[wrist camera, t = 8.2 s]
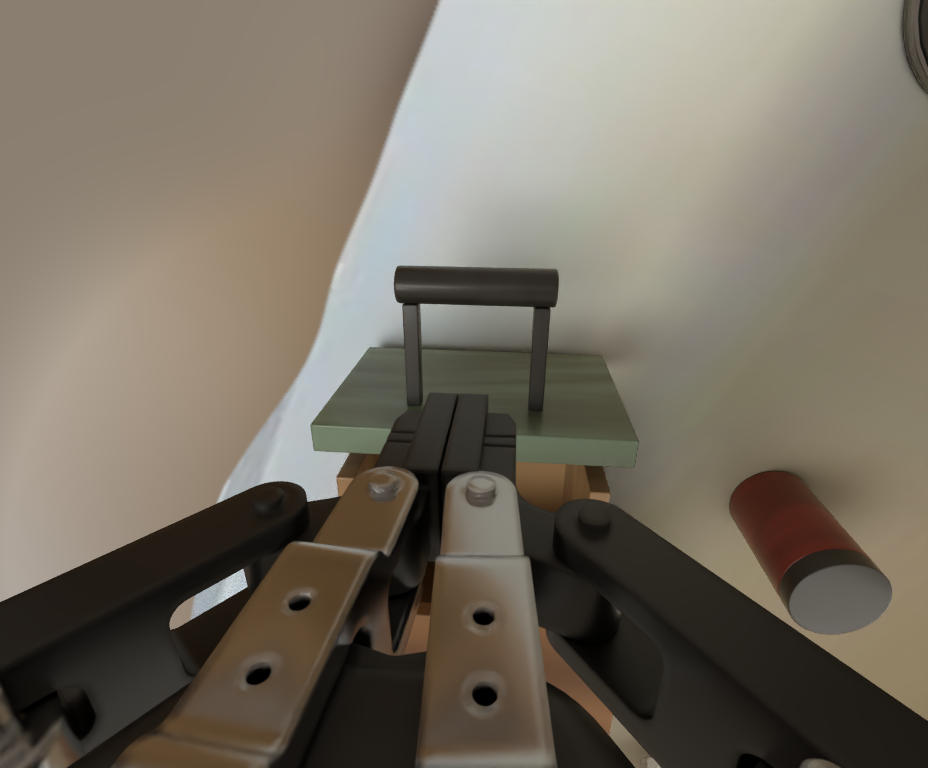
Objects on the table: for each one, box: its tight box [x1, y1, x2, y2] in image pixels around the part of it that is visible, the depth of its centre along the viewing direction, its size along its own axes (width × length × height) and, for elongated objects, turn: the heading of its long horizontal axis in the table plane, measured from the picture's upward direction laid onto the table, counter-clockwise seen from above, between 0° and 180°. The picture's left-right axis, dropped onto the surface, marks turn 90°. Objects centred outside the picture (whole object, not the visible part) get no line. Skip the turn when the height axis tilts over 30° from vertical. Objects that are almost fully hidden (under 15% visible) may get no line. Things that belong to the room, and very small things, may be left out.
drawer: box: [311, 266, 639, 602], centre depth 25 cm, size 20×12×9 cm, turn 0°
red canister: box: [729, 471, 892, 634], centre depth 27 cm, size 4×4×7 cm
